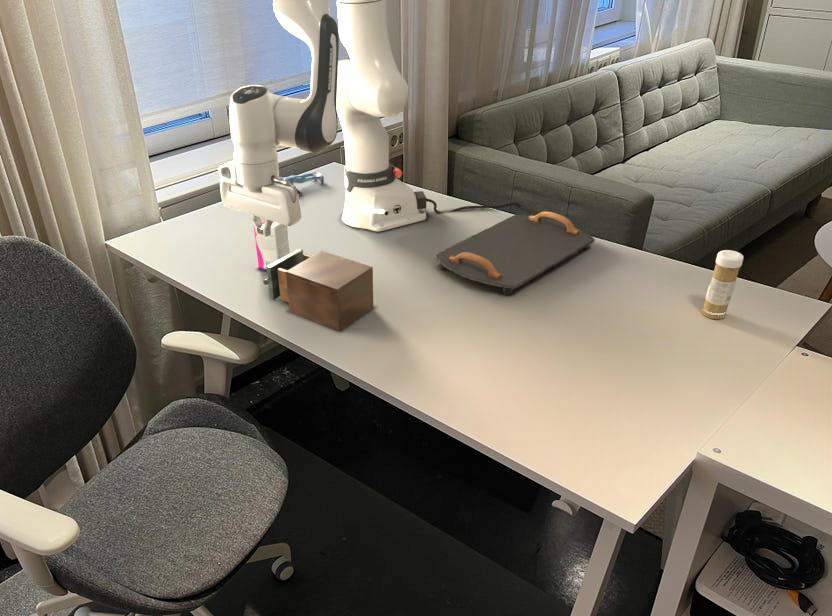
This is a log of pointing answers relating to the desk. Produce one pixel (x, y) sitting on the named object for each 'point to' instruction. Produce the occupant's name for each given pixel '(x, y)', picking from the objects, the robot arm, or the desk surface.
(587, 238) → the serving tray
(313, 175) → the person figurine
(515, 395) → the desk surface
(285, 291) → the drawer
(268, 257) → the supplement box
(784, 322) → the desk surface
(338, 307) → the cabinet
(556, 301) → the desk surface
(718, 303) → the sprinkles bottle
